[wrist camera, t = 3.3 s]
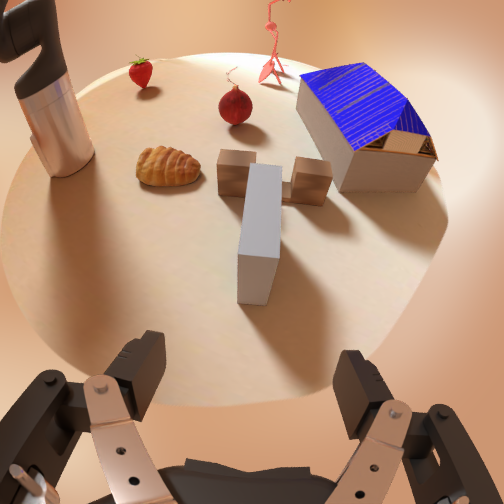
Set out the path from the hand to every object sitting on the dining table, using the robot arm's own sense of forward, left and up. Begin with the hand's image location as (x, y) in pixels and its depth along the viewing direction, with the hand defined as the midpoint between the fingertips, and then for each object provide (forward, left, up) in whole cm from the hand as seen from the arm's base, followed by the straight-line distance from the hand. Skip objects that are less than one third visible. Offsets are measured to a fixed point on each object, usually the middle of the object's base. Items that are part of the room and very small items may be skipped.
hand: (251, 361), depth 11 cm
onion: (+9, +40, -15) cm, 44 cm away
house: (+28, +32, -15) cm, 45 cm away
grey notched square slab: (+5, +12, -15) cm, 20 cm away
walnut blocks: (+10, +22, -15) cm, 28 cm away
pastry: (-4, +30, -15) cm, 34 cm away
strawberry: (-9, +66, -15) cm, 69 cm away
